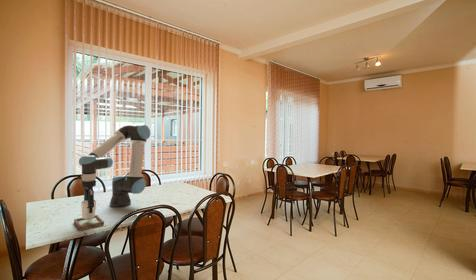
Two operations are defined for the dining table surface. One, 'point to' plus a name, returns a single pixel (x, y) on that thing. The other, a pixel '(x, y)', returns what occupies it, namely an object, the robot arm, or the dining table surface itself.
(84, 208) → the pale pink cup
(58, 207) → the dining table surface
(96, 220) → the walnut tray
